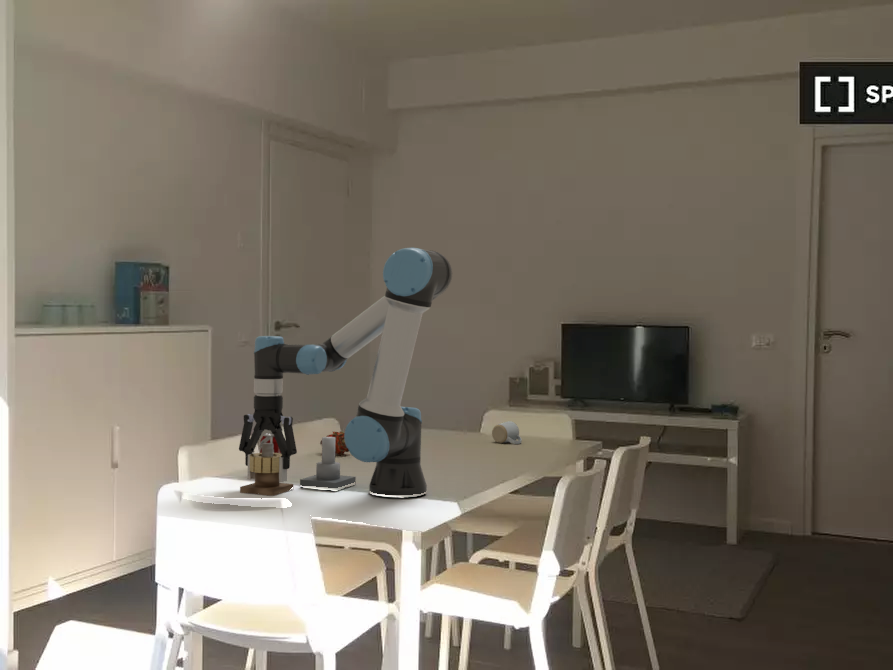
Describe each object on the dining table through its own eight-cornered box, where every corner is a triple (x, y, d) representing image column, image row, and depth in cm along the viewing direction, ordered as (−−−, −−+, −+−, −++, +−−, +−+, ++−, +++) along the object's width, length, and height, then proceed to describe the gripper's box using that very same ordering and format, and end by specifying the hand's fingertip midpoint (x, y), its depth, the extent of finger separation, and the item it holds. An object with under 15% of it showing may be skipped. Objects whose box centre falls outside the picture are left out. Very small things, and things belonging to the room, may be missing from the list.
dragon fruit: (351, 461, 320) (321, 463, 326) (361, 443, 327) (332, 446, 332) (340, 442, 316) (310, 444, 322) (350, 424, 323) (321, 427, 328)
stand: (293, 489, 260) (294, 442, 260) (272, 495, 251) (273, 447, 250) (261, 486, 264) (262, 440, 263) (240, 492, 254) (240, 444, 254)
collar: (291, 469, 259) (291, 454, 259) (272, 474, 251) (272, 458, 251) (262, 466, 263) (262, 451, 263) (243, 471, 255) (243, 456, 254)
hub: (355, 485, 268) (356, 436, 268) (335, 491, 258) (336, 441, 257) (320, 482, 272) (321, 434, 272) (299, 488, 262) (300, 438, 262)
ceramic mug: (490, 442, 362) (490, 421, 361) (502, 440, 368) (503, 420, 368) (513, 445, 355) (514, 424, 355) (526, 443, 362) (526, 423, 361)
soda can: (285, 473, 285) (285, 432, 284) (281, 477, 278) (282, 435, 278) (261, 473, 284) (262, 432, 284) (258, 477, 278) (258, 435, 277)
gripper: (311, 395, 256) (310, 481, 256) (241, 391, 264) (240, 474, 265) (296, 397, 249) (295, 485, 249) (225, 393, 257) (224, 478, 258)
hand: (267, 479), depth 257 cm, fingers closed on collar, 9 cm apart
